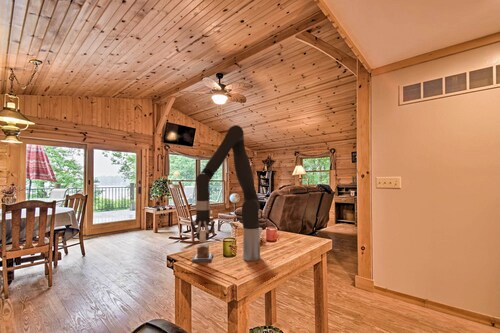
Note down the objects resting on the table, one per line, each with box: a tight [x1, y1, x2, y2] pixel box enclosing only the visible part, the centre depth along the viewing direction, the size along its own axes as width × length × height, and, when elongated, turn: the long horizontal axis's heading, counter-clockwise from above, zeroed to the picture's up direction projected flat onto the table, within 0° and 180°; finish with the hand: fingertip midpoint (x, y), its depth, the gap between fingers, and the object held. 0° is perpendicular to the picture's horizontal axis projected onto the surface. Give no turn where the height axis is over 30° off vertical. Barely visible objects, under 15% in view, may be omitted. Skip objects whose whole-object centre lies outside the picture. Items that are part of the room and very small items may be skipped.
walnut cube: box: [196, 244, 210, 258], centre depth 136 cm, size 6×6×6 cm
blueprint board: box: [191, 252, 214, 263], centre depth 136 cm, size 10×10×2 cm
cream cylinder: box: [198, 229, 208, 243], centre depth 137 cm, size 4×4×6 cm
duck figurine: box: [260, 227, 265, 240], centre depth 168 cm, size 12×8×11 cm
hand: (202, 239), depth 137 cm, fingers closed on cream cylinder, 4 cm apart
